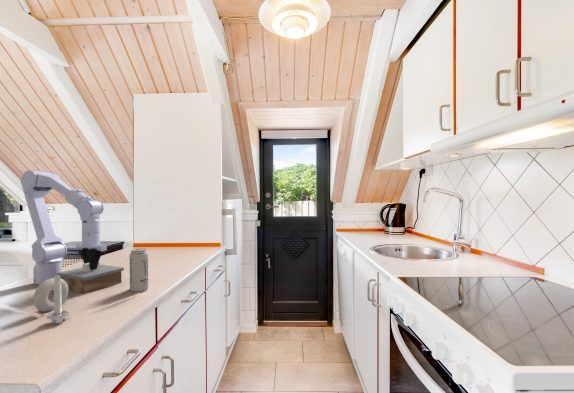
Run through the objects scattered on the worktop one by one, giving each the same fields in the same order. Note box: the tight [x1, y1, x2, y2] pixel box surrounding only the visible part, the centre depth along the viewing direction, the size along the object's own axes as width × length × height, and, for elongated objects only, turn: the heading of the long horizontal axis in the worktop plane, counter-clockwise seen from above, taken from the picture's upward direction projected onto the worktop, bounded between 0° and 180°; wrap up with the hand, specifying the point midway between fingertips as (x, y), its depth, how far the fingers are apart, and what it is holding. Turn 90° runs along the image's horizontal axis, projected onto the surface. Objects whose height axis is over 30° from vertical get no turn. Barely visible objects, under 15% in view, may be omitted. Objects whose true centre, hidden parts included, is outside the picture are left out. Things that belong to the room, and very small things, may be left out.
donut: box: [32, 278, 69, 313], centre depth 91 cm, size 10×4×10 cm, turn 168°
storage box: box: [60, 271, 122, 294], centre depth 114 cm, size 14×14×6 cm
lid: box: [57, 261, 125, 280], centre depth 114 cm, size 15×15×4 cm
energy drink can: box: [129, 247, 149, 294], centre depth 110 cm, size 6×6×15 cm
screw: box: [46, 275, 70, 325], centre depth 84 cm, size 13×5×5 cm
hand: (91, 268), depth 114 cm, fingers closed on lid, 2 cm apart
